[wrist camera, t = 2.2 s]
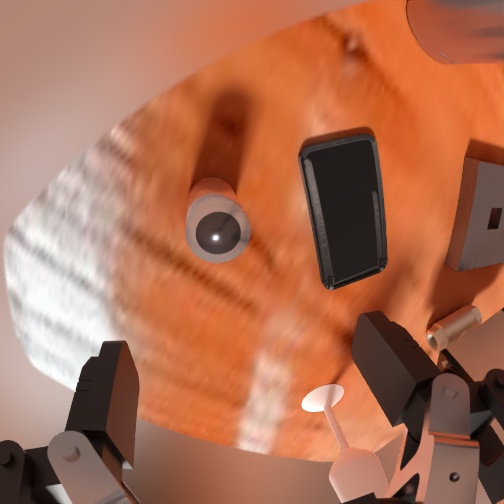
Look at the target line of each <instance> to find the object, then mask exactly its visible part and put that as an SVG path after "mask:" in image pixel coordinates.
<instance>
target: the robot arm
mask: <svg viewBox="0 0 504 504" xmlns="http://www.w3.org/2000/svg"><path fill="white" fill-rule="evenodd" d="M407 16H408V20H409V24H410V27H411V29H412V32H413V34H414V36H415V38H416V39H417V41H418V43H419V44H420V45H421V47H422V48H423V49H424V50H425V51H426V52H427V53H428V54H429V55H430V56H431V57H432V58H434V59H435V60H437V61H439V62H441V63H444V64H471V63H473V64H504V0H409V1H408V4H407ZM351 352H352V357H353V360H354V362H355V364H356V366H357V367H358V369H359V371H360V372H361V374H362V376H363V377H364V379H365V381H366V382H367V384H368V386H369V388H370V389H371V391H372V393H373V394H374V396H375V398H376V399H377V401H378V403H379V405H380V406H381V408H382V410H383V411H384V413H385V415H386V417H387V418H388V420H389V422H390V423H391V425H392V427H394V426H397V425H399V424H402V423H404V424H405V426H406V429H405V431H404V434H403V439H402V444H401V449H400V453H399V457H398V462H397V466H396V470H395V473H394V476H393V479H392V481H391V482H390V484H389V486H388V488H387V490H386V492H385V495H384V498H376V496H375V494H374V492H372V493H369V494H367V495H364V496H361V497H358V498H356V499H353V500H350V501H347V502H344V503H341V504H475V501H476V492H477V483H478V478H479V480H480V481H481V483H482V485H483V487H484V489H485V491H486V493H487V495H488V497H489V499H490V501H491V503H492V504H504V445H503V444H502V442H501V440H500V439H499V438H498V436H497V434H496V433H495V431H494V430H493V428H492V427H491V425H490V424H491V423H492V421H493V420H494V419H495V418H496V419H497V421H498V422H499V424H500V425H501V427H502V428H503V430H504V370H502V369H498V368H495V369H491V370H489V371H488V372H487V374H486V376H485V377H484V379H483V381H476V382H467V383H466V382H465V381H464V380H463V379H462V378H460V377H459V376H457V375H454V374H449V373H447V374H443V373H442V372H441V371H440V370H439V369H438V367H437V366H436V365H435V364H434V362H433V361H432V360H431V359H430V358H429V356H428V355H427V354H426V353H425V351H424V350H423V349H422V348H421V347H419V344H418V343H417V342H416V341H415V340H413V337H412V336H411V335H410V334H409V333H408V331H407V330H406V329H405V328H403V327H402V326H400V325H399V324H397V323H395V322H394V321H393V322H390V320H389V319H388V318H387V317H386V316H385V315H384V313H383V312H381V311H374V312H369V313H364V314H361V315H360V316H359V317H358V321H357V325H356V330H355V334H354V338H353V342H352V347H351ZM138 397H139V377H138V373H137V370H136V367H135V364H134V361H133V358H132V356H131V353H130V350H129V347H128V344H127V342H126V341H104V342H103V344H102V347H101V350H100V353H99V357H90V359H89V360H88V361H87V362H86V364H85V365H84V366H83V367H82V370H81V373H80V377H79V382H78V383H77V387H76V392H75V394H74V398H73V401H72V405H71V409H70V412H69V417H68V420H67V424H66V428H65V431H64V432H62V433H59V434H58V435H56V436H55V437H54V438H53V439H52V440H51V442H50V443H49V446H46V447H40V448H34V449H27V450H24V449H23V448H22V447H21V446H20V445H19V444H18V443H16V442H14V441H11V440H5V441H1V442H0V504H141V502H140V501H139V500H138V499H137V498H136V497H135V495H134V494H133V493H132V492H131V491H130V489H129V488H128V487H127V486H126V484H125V483H124V482H123V480H122V469H133V460H134V443H135V430H136V418H137V407H138Z"/></svg>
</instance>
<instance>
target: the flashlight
mask: <svg viewBox="0 0 504 504" xmlns="http://www.w3.org/2000/svg"><path fill="white" fill-rule="evenodd" d="M250 232H251V231H250V224H249V221H248V219H247V217H246V215H245V213H244V211H243V209H242V207H241V205H240V203H239V201H238V199H237V197H236V195H235V193H234V191H233V189H232V187H231V186H230V185H229V184H228V183H227V182H226V181H225V180H223V179H221V178H217V177H207V178H204V179H201V180H199V181H198V182H197V183H196V184H195V185H194V186H193V187H192V189H191V190H190V193H189V197H188V208H187V221H186V240H187V243H188V246H189V248H190V249H191V251H192V252H193V253H194V254H195V255H196V256H198V257H199V258H201V259H203V260H205V261H208V262H212V263H222V262H226V261H229V260H232V259H234V258H236V257H237V256H238V255H240V254H241V253H242V252H243V251H244V249H245V248H246V246H247V244H248V242H249V239H250Z"/></svg>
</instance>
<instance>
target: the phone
mask: <svg viewBox="0 0 504 504" xmlns="http://www.w3.org/2000/svg"><path fill="white" fill-rule="evenodd" d="M298 162H299V166H300V171H301V175H302V180H303V185H304V190H305V195H306V199H307V204H308V210H309V215H310V220H311V225H312V230H313V236H314V241H315V247H316V253H317V259H318V264H319V270H320V277H321V281H322V284H323V285H324V286H325V288H326V289H329V290H334V289H337V288H340V287H343V286H345V285H348V284H351V283H354V282H356V281H359V280H362V279H364V278H367V277H370V276H372V275H375V274H377V273H380V272H382V271H383V270H384V269H385V267H386V265H387V237H386V221H385V208H384V197H383V187H382V177H381V169H380V161H379V154H378V147H377V142H376V140H375V139H374V137H372V136H371V135H368V134H357V135H352V136H347V137H343V138H338V139H333V140H329V141H324V142H320V143H316V144H311V145H307V146H305V147H303V148H302V149H301V151H300V152H299V155H298Z"/></svg>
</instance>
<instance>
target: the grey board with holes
mask: <svg viewBox="0 0 504 504" xmlns="http://www.w3.org/2000/svg"><path fill="white" fill-rule="evenodd" d="M503 262H504V165H502V164H497V163H493V162H488V161H483V160H478V159H473V158H468V157H465V158H464V167H463V175H462V182H461V189H460V195H459V201H458V207H457V212H456V218H455V223H454V227H453V232H452V237H451V241H450V245H449V249H448V253H447V257H446V261H445V263H446V264H447V265H448V266H450V267H451V268H452V269H454V270H455V271H456V272H459V271H464V270H469V269H474V268H479V267H484V266H489V265H494V264H498V263H503Z"/></svg>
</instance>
